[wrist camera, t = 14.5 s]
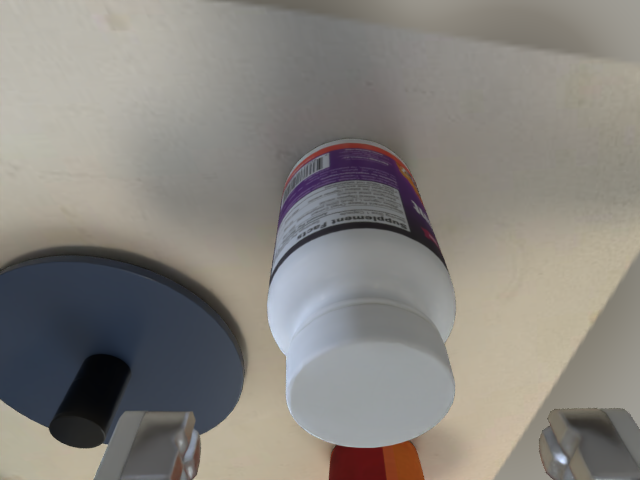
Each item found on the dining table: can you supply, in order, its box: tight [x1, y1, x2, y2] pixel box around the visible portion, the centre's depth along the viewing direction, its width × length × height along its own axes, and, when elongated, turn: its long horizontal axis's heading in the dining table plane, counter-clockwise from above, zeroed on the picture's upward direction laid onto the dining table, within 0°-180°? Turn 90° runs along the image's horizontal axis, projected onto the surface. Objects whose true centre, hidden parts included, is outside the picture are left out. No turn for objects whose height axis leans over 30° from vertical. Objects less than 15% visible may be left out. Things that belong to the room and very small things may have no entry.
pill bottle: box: [267, 139, 456, 448], centre depth 15 cm, size 5×5×10 cm
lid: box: [0, 255, 245, 448], centre depth 22 cm, size 14×14×5 cm
